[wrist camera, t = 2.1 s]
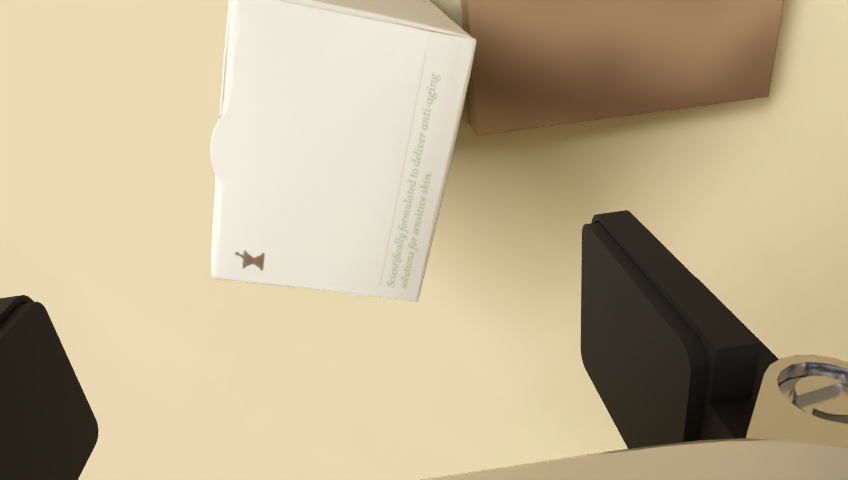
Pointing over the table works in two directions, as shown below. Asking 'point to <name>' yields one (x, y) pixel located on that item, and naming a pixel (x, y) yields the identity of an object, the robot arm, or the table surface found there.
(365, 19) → the skincare box
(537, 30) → the walnut board
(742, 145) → the table surface
